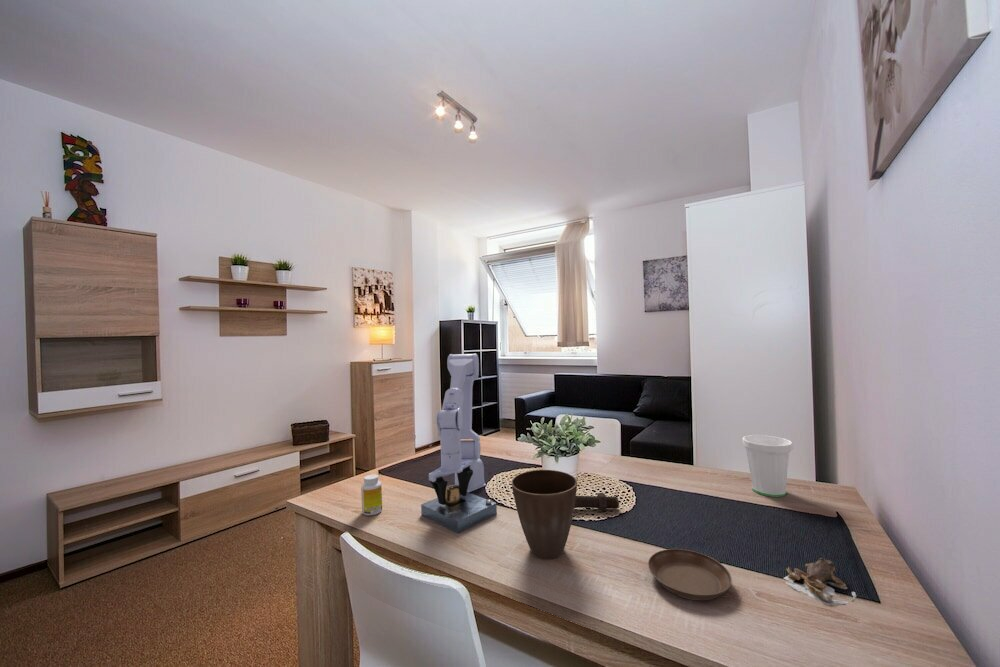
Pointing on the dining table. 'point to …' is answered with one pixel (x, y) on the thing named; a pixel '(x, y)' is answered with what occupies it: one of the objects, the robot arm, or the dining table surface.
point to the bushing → (452, 495)
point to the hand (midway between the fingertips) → (452, 499)
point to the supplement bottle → (371, 495)
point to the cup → (768, 463)
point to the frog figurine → (818, 582)
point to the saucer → (689, 574)
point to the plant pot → (545, 509)
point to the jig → (459, 512)
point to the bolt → (597, 502)
